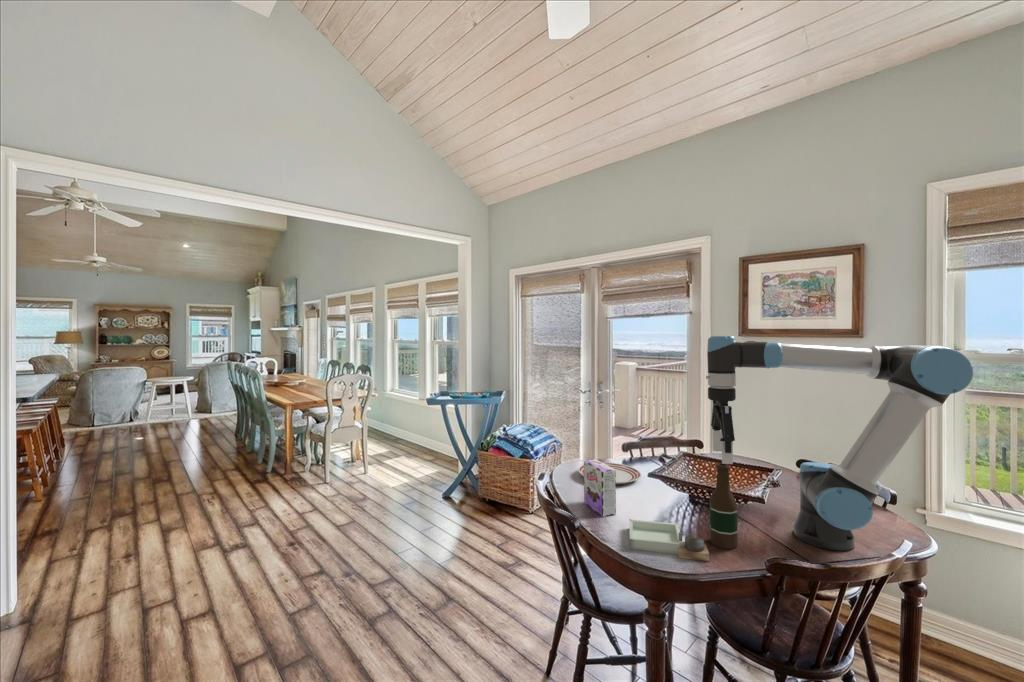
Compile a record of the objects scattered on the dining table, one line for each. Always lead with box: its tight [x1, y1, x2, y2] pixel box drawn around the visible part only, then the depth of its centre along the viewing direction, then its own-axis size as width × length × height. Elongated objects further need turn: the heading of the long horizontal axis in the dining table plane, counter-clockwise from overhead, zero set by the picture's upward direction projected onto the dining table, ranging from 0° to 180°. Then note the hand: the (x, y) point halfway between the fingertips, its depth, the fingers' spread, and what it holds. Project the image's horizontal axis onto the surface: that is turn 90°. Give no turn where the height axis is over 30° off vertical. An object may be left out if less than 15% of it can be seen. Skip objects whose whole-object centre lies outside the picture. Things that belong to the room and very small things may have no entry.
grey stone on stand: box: [677, 531, 710, 562], centre depth 124 cm, size 8×6×5 cm
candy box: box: [583, 458, 617, 518], centre depth 157 cm, size 14×6×16 cm, turn 18°
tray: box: [628, 518, 684, 555], centre depth 132 cm, size 15×14×3 cm
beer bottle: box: [709, 462, 739, 550], centre depth 130 cm, size 8×8×24 cm
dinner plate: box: [577, 461, 642, 486], centre depth 191 cm, size 27×27×3 cm
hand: (722, 457), depth 130 cm, fingers open, 13 cm apart
